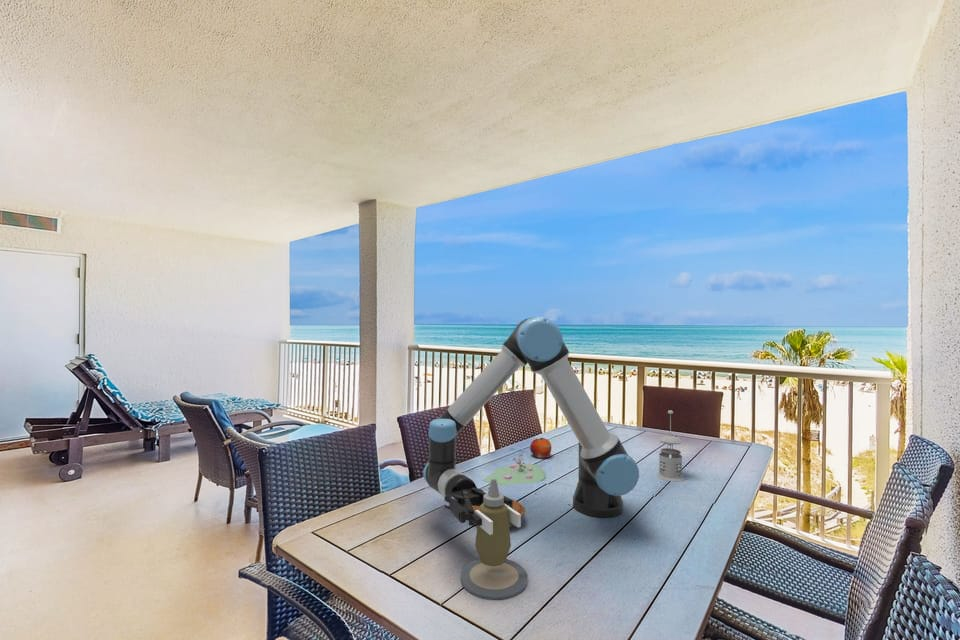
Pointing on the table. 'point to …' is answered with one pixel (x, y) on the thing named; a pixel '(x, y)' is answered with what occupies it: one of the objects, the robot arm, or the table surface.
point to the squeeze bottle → (494, 529)
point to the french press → (670, 459)
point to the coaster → (494, 579)
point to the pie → (516, 506)
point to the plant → (517, 474)
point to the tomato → (541, 447)
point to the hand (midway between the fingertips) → (505, 524)
